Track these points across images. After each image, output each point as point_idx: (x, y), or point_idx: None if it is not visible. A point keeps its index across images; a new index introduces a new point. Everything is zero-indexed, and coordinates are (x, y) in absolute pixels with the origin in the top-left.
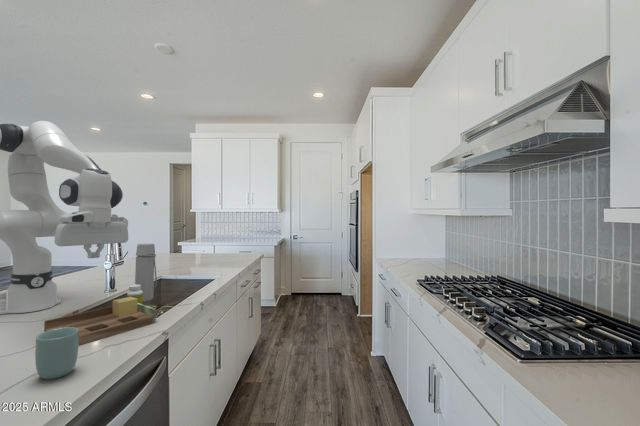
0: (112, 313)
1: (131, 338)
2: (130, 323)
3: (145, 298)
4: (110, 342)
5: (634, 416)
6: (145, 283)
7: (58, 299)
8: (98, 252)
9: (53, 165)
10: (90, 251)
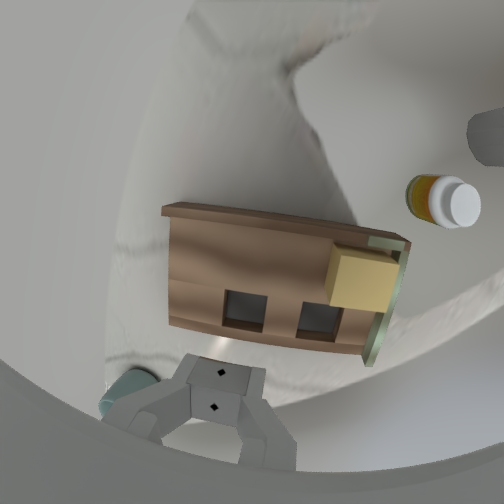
0: (333, 243)
1: (273, 375)
2: (304, 348)
3: (481, 160)
4: (240, 359)
5: None
6: None
7: None
8: (242, 428)
9: None
10: (172, 425)
